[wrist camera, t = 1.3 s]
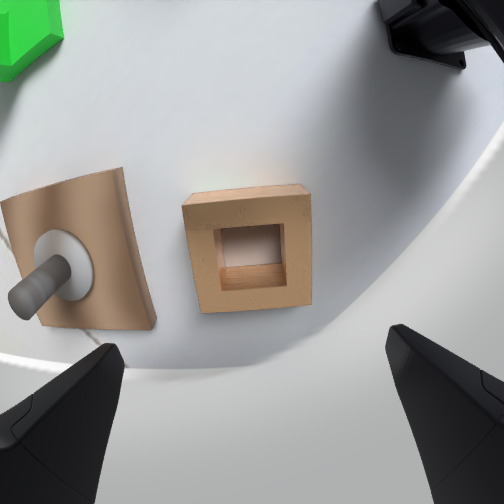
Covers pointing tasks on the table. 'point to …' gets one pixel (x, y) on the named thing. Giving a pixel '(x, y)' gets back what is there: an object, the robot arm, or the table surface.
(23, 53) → the mechanical part
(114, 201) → the post stand
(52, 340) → the table surface
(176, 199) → the table surface
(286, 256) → the wooden collar
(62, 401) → the robot arm
